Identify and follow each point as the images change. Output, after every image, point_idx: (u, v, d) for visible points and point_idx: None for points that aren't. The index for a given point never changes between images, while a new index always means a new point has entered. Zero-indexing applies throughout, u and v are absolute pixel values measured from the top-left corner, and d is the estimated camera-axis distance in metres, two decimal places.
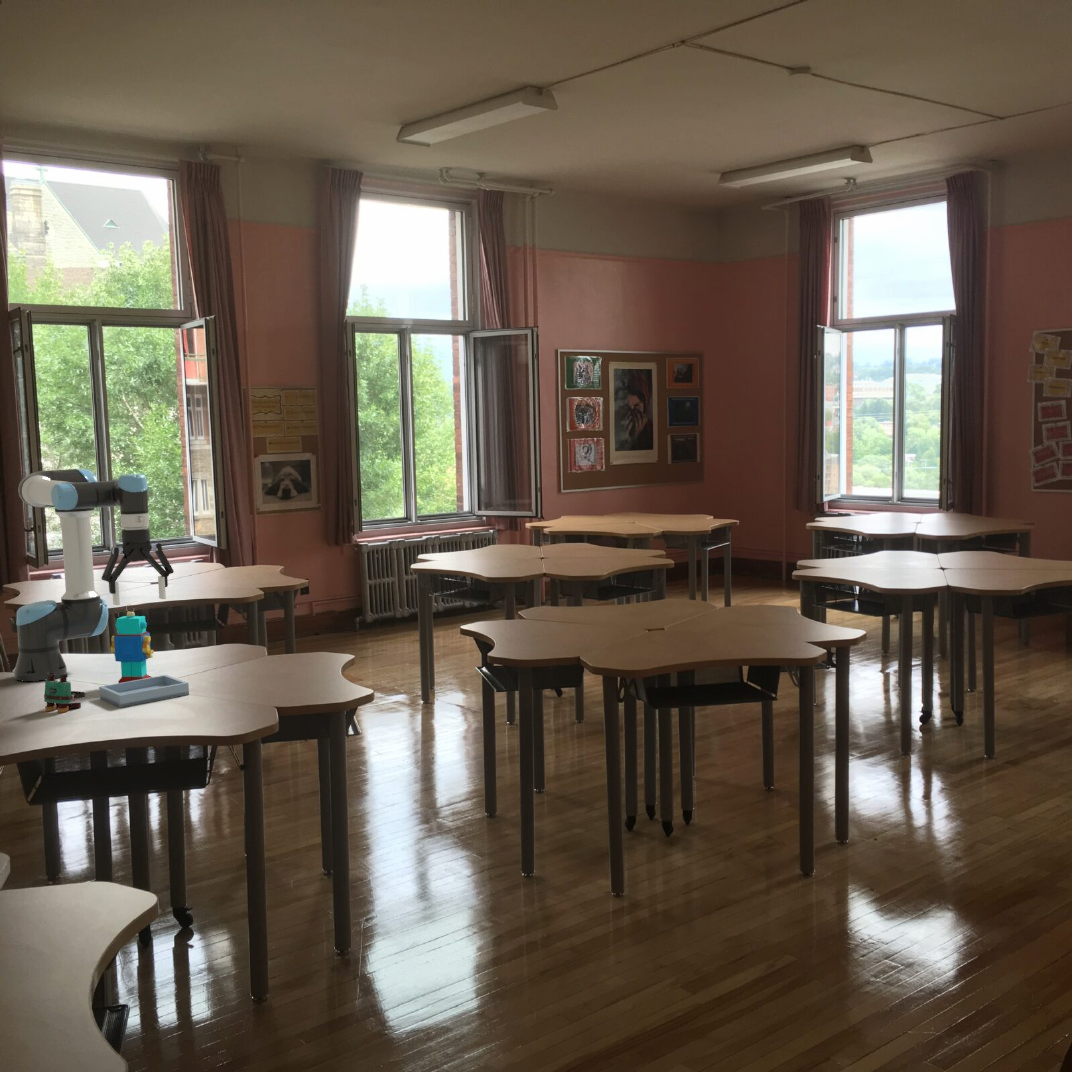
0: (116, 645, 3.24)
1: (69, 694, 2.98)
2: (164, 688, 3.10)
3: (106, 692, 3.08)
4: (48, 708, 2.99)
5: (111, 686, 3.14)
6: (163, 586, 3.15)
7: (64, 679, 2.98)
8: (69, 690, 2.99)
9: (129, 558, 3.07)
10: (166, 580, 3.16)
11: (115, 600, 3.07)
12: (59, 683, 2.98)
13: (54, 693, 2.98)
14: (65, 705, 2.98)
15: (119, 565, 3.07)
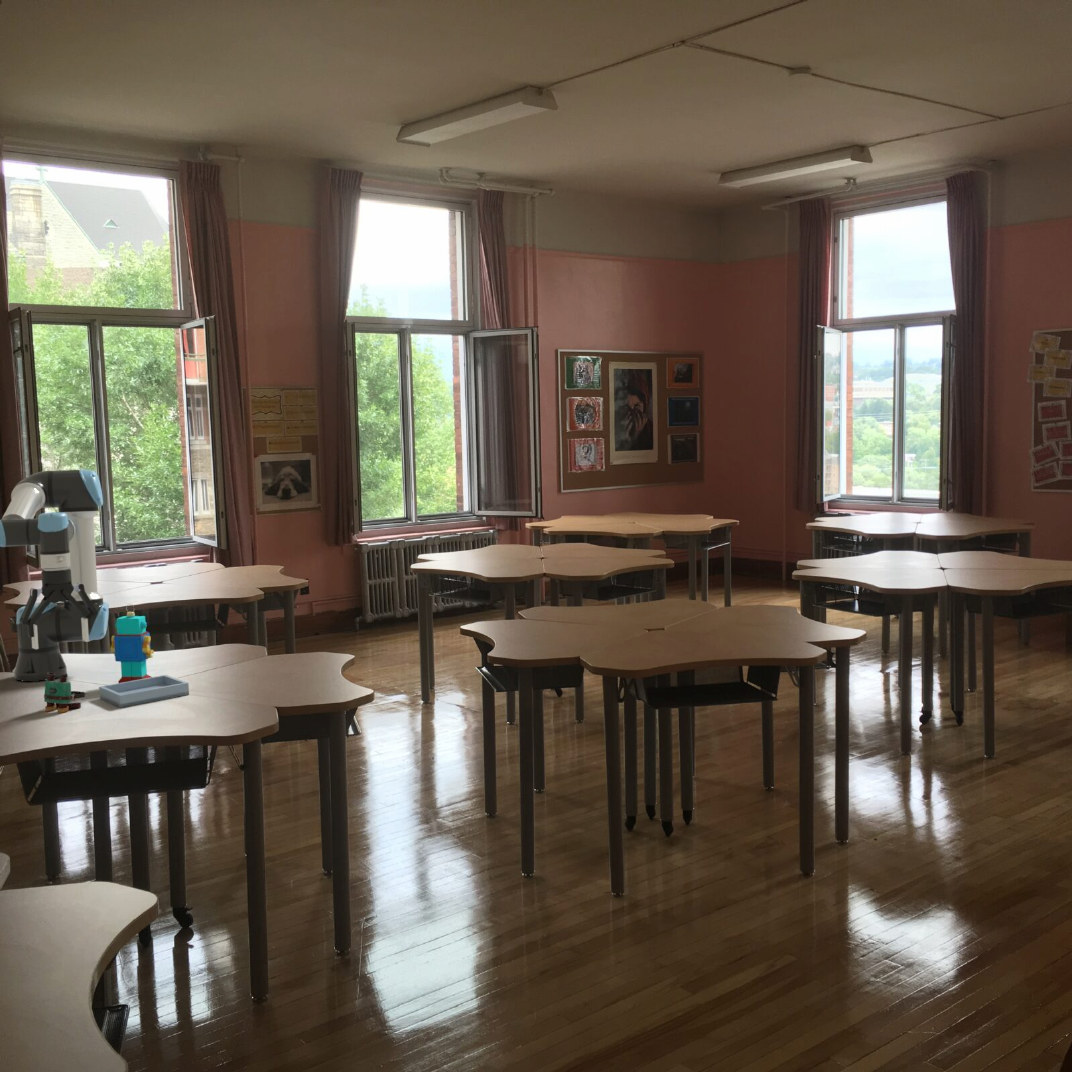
0: (116, 645, 3.24)
1: (69, 694, 2.98)
2: (164, 688, 3.10)
3: (106, 692, 3.08)
4: (48, 708, 2.99)
5: (111, 686, 3.14)
6: (86, 628, 3.04)
7: (64, 679, 2.98)
8: (69, 690, 2.99)
9: (48, 600, 2.96)
10: (89, 622, 3.05)
11: (34, 644, 2.95)
12: (59, 683, 2.98)
13: (54, 693, 2.98)
14: (65, 705, 2.98)
15: (38, 607, 2.96)
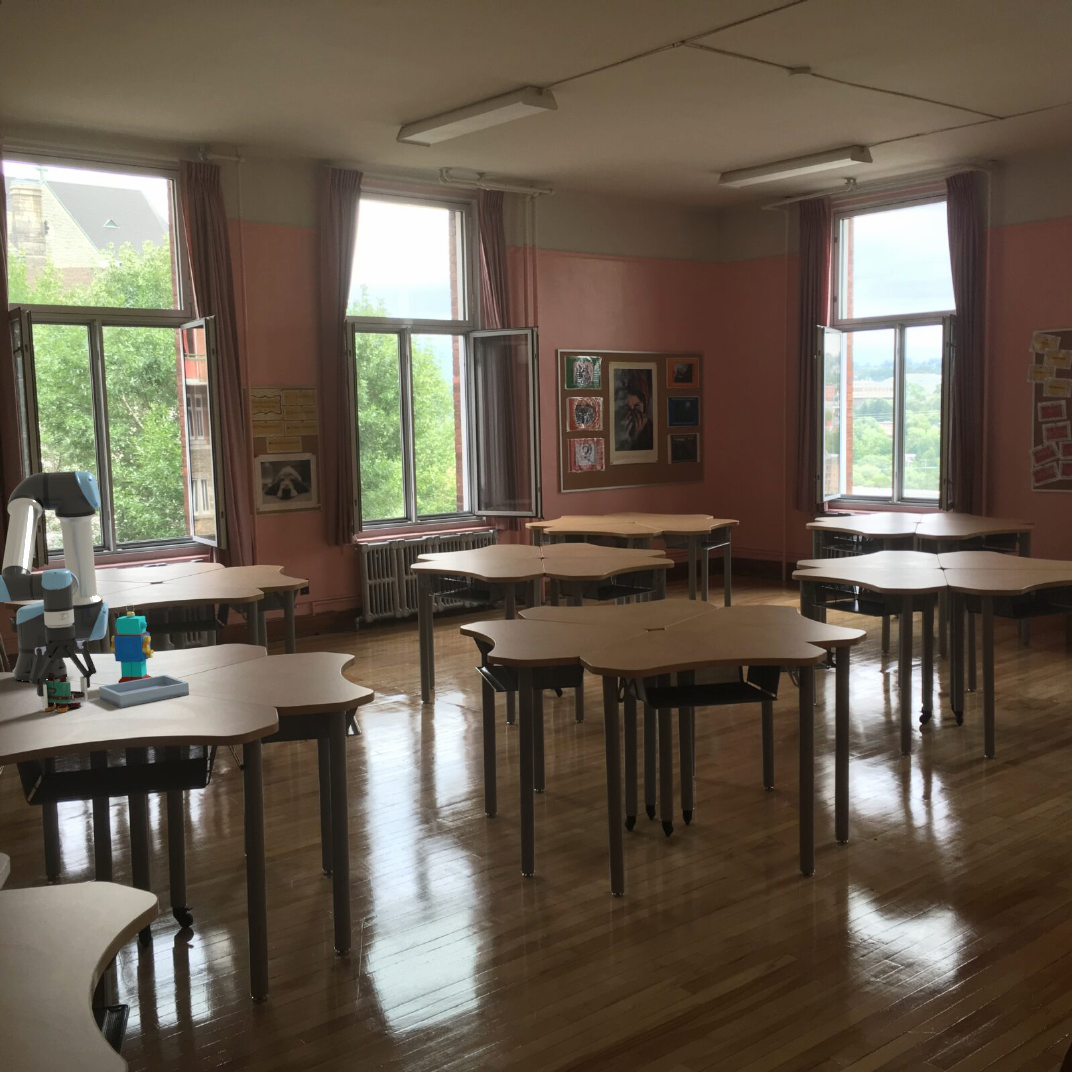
0: (116, 645, 3.24)
1: (69, 694, 2.98)
2: (164, 688, 3.10)
3: (106, 692, 3.08)
4: (48, 708, 2.99)
5: (111, 686, 3.14)
6: (85, 687, 3.05)
7: (64, 679, 2.98)
8: (69, 690, 2.98)
9: (54, 657, 2.98)
10: (88, 681, 3.06)
11: (43, 703, 2.98)
12: (59, 683, 2.98)
13: (54, 693, 2.98)
14: (65, 705, 2.98)
15: (45, 666, 2.98)
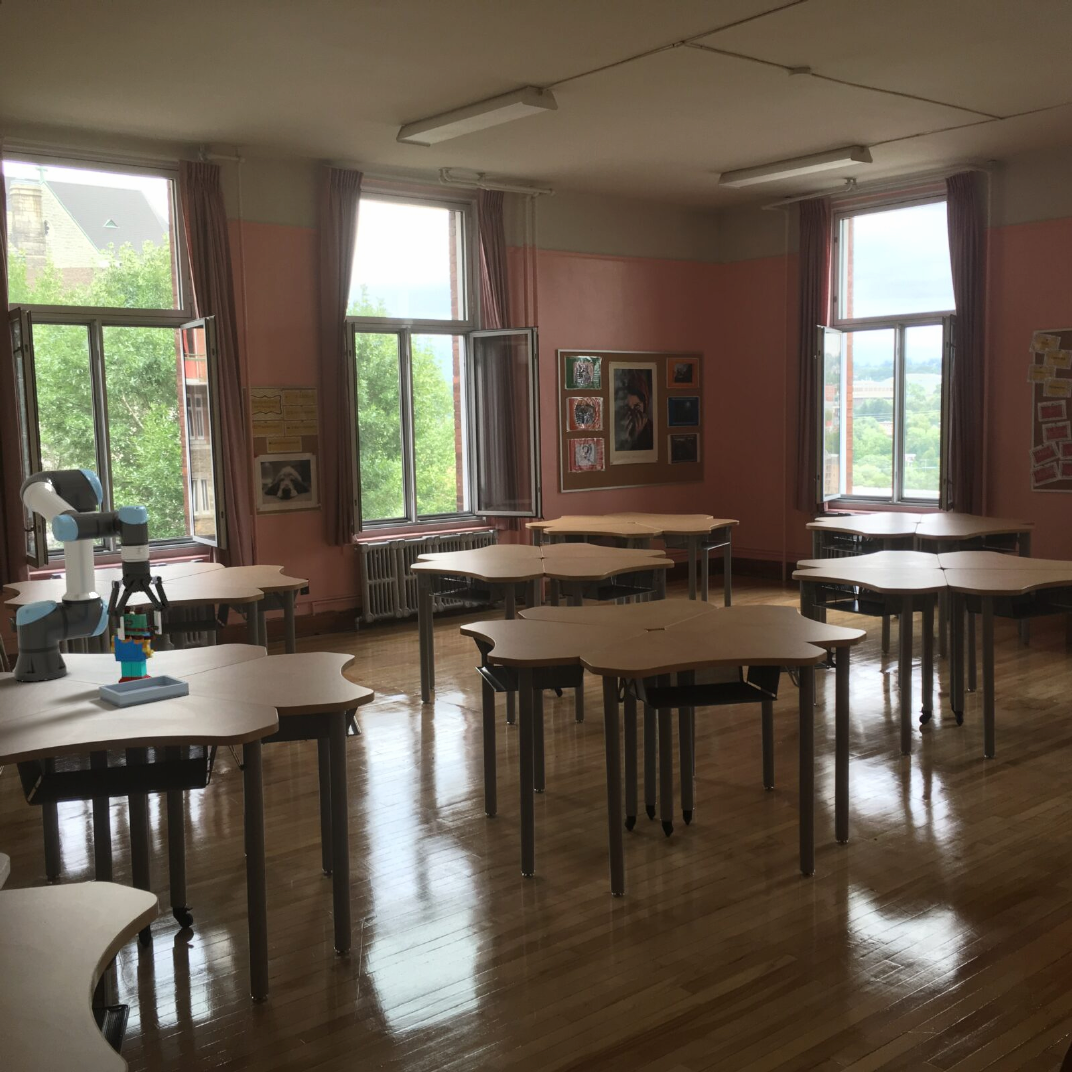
0: (116, 645, 3.24)
1: (145, 626, 3.08)
2: (164, 688, 3.10)
3: (106, 692, 3.08)
4: (124, 640, 3.08)
5: (111, 686, 3.14)
6: (159, 621, 3.14)
7: (140, 611, 3.07)
8: (145, 622, 3.08)
9: (130, 591, 3.07)
10: (162, 615, 3.15)
11: (120, 635, 3.07)
12: (135, 616, 3.07)
13: (130, 625, 3.07)
14: (141, 637, 3.08)
15: (122, 599, 3.08)
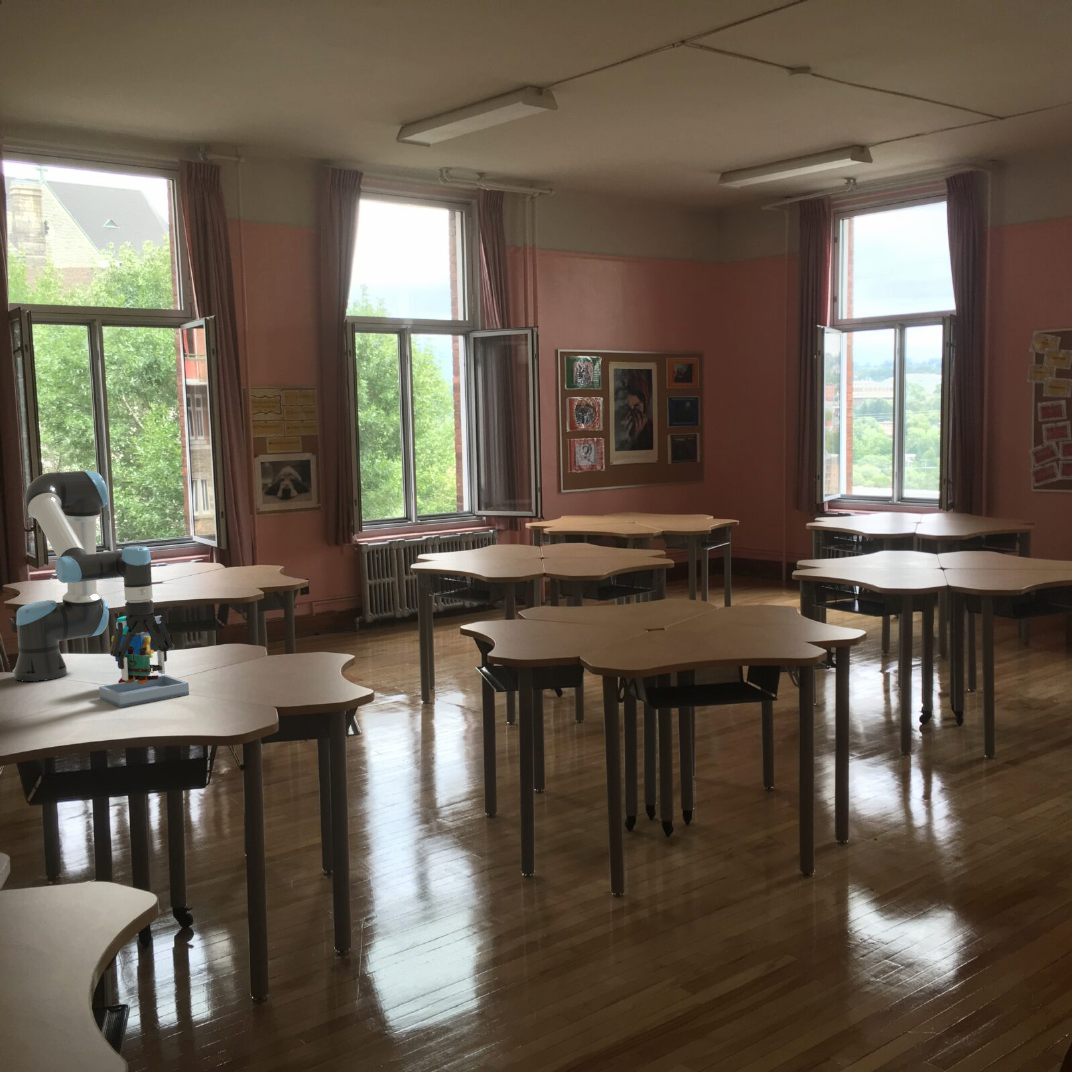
0: None
1: (148, 667, 3.09)
2: (164, 688, 3.10)
3: (106, 692, 3.08)
4: (128, 680, 3.10)
5: (111, 686, 3.14)
6: (162, 661, 3.15)
7: (143, 652, 3.09)
8: (148, 663, 3.09)
9: (134, 631, 3.09)
10: (165, 655, 3.17)
11: (124, 675, 3.09)
12: (139, 656, 3.08)
13: (134, 666, 3.09)
14: (144, 677, 3.09)
15: (125, 639, 3.09)
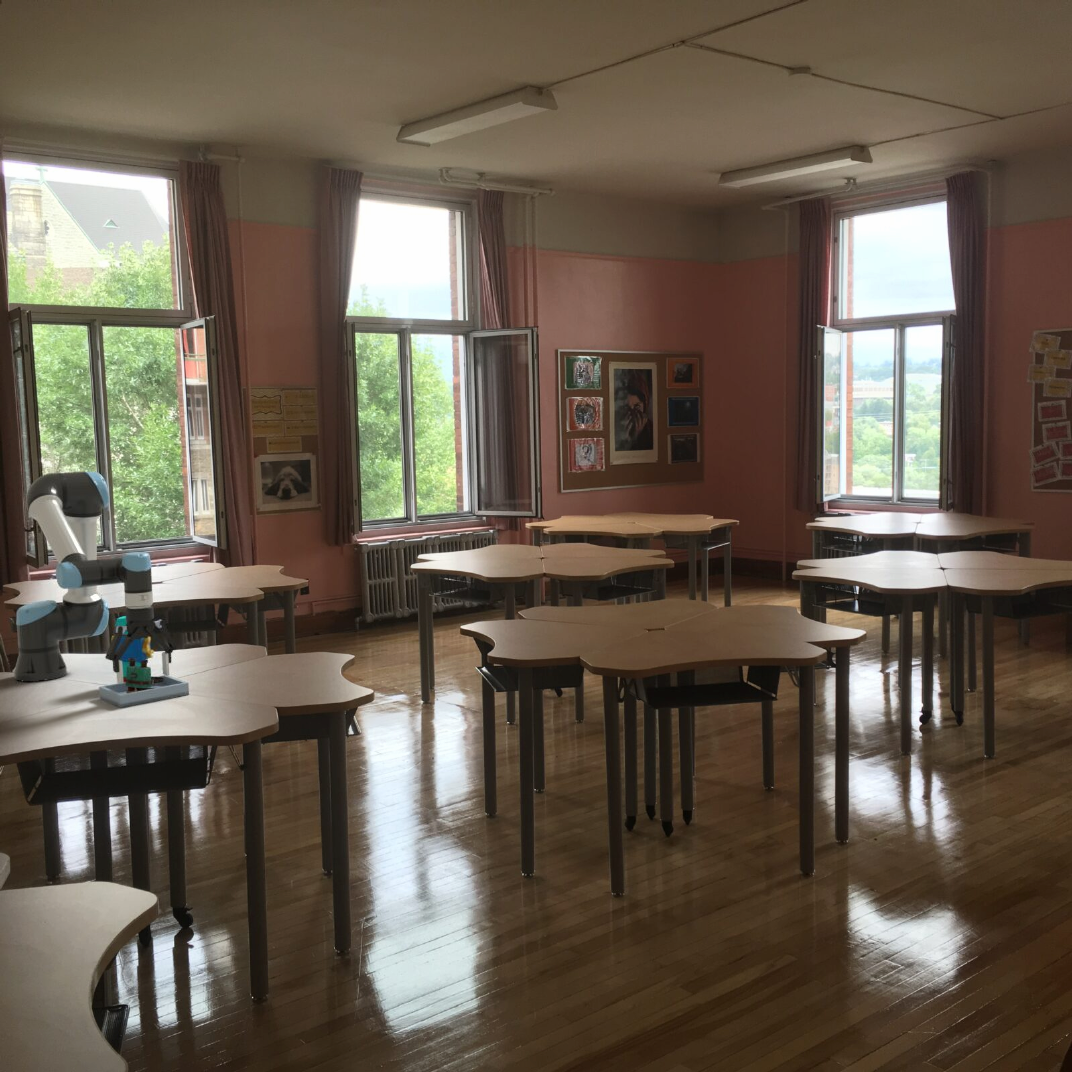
0: None
1: (149, 679, 3.10)
2: (164, 688, 3.10)
3: (106, 692, 3.08)
4: (129, 692, 3.11)
5: (111, 686, 3.14)
6: (167, 662, 3.16)
7: (145, 664, 3.10)
8: (149, 675, 3.10)
9: (133, 636, 3.09)
10: (170, 656, 3.18)
11: (119, 678, 3.08)
12: (140, 668, 3.09)
13: (135, 678, 3.10)
14: (145, 689, 3.10)
15: (123, 643, 3.09)
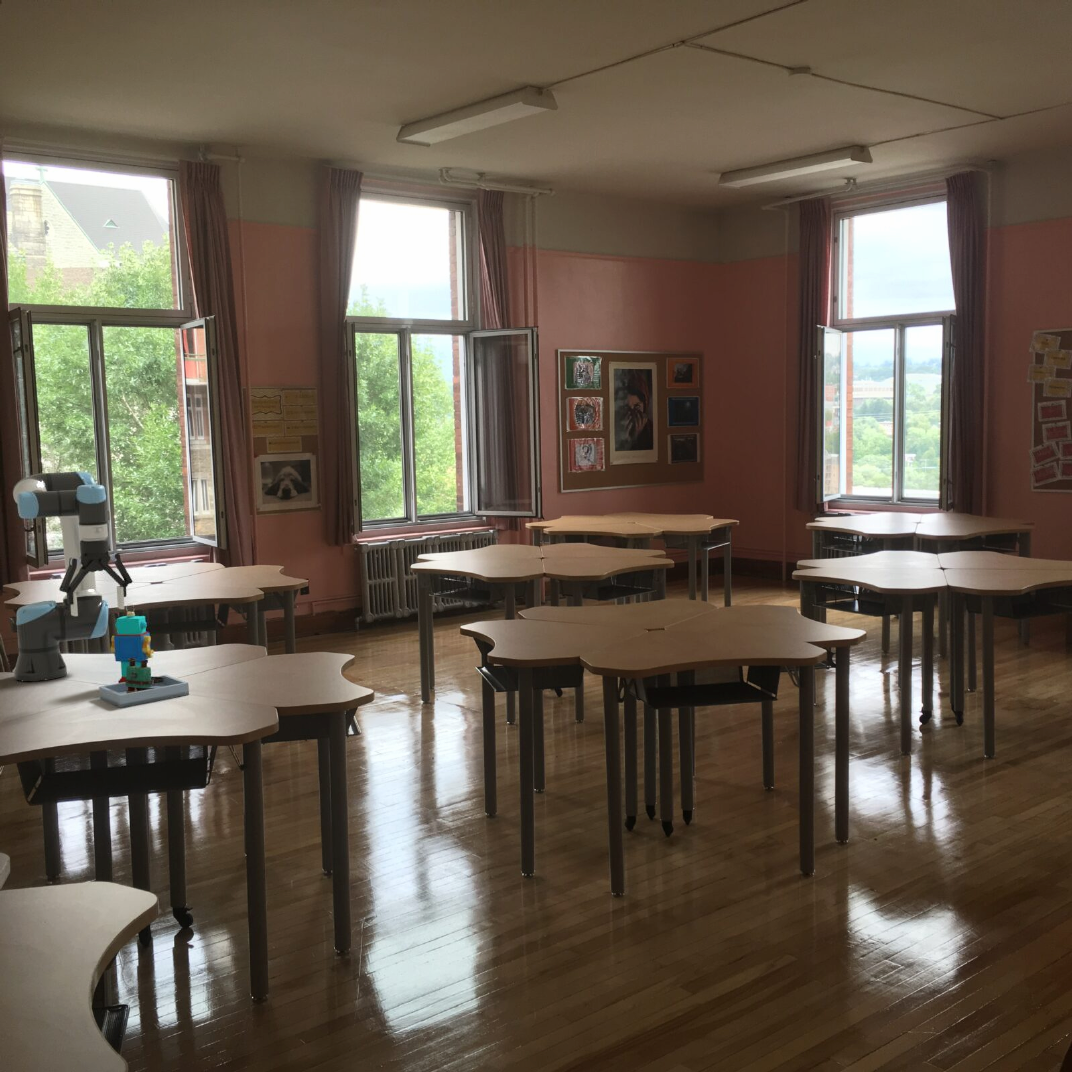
0: (116, 645, 3.24)
1: (149, 679, 3.10)
2: (164, 688, 3.10)
3: (106, 692, 3.08)
4: (129, 692, 3.11)
5: (111, 686, 3.14)
6: (122, 596, 3.16)
7: (145, 664, 3.10)
8: (149, 675, 3.10)
9: (87, 569, 3.07)
10: (125, 590, 3.17)
11: (73, 611, 3.07)
12: (140, 668, 3.09)
13: (135, 678, 3.10)
14: (145, 689, 3.10)
15: (77, 576, 3.07)
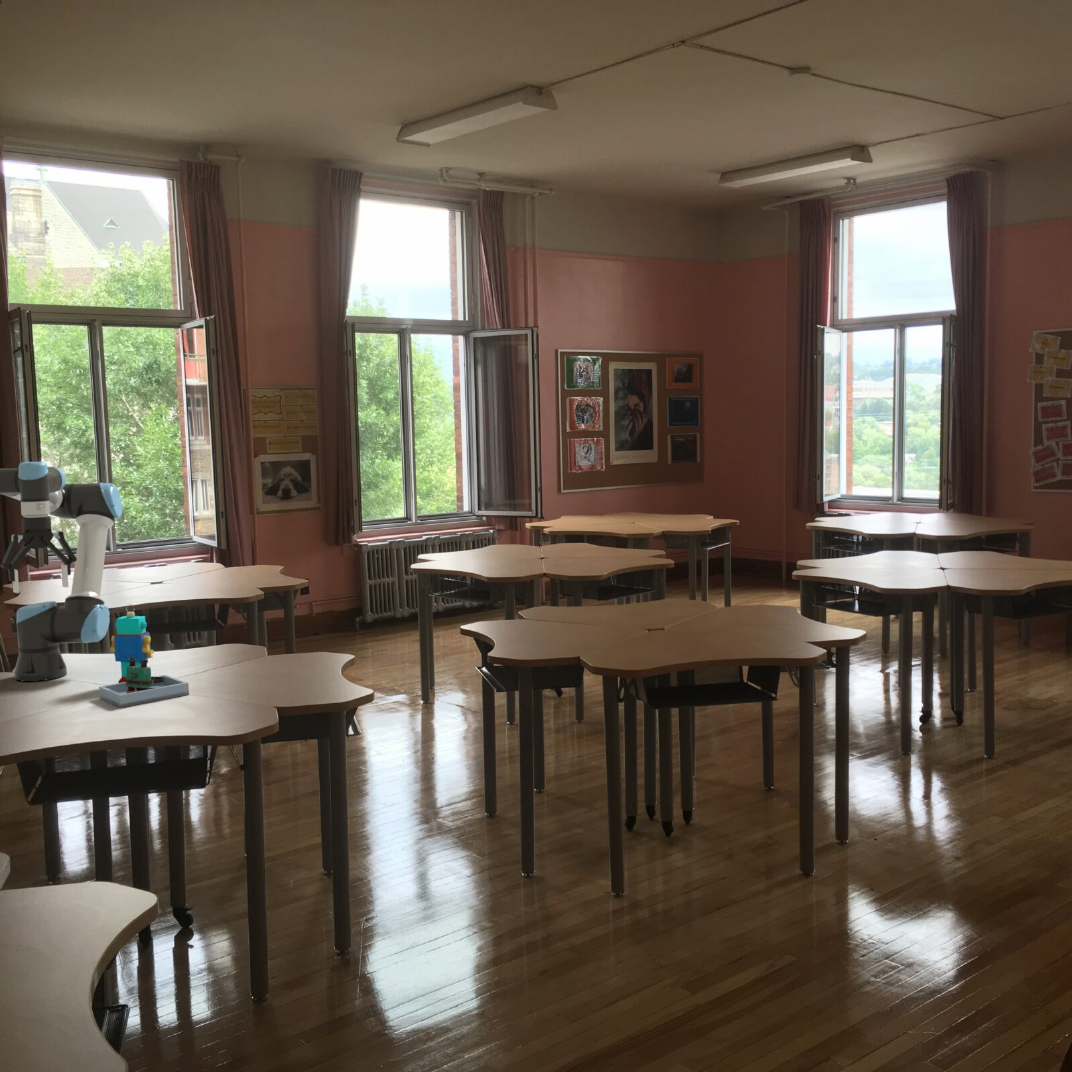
0: (116, 645, 3.24)
1: (149, 679, 3.10)
2: (164, 688, 3.10)
3: (106, 692, 3.08)
4: (129, 692, 3.11)
5: (111, 686, 3.14)
6: (66, 574, 3.15)
7: (145, 664, 3.10)
8: (149, 675, 3.10)
9: (29, 546, 3.07)
10: (69, 568, 3.16)
11: (15, 588, 3.06)
12: (140, 668, 3.09)
13: (135, 678, 3.10)
14: (145, 689, 3.10)
15: (19, 553, 3.07)
